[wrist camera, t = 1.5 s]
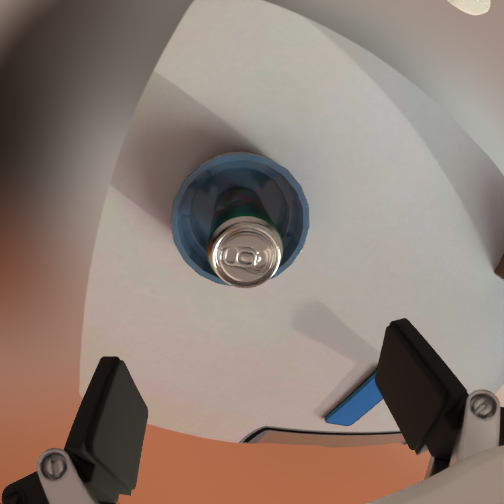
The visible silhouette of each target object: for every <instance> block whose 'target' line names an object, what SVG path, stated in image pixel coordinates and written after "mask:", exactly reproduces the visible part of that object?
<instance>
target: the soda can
mask: <svg viewBox="0 0 504 504" xmlns="http://www.w3.org/2000/svg"><path fill="white" fill-rule="evenodd" d="M282 256H283V243H282V239H281V236H280V234H279V232H278V230H277V228H276V227H275V225H274V223H273V221H272V219H271V217H270V216H269V214H268V212H267V210H266V208H265V207H264V205H263V203H262V201H261V199H260V198H259V197H258V196H257V195H256V194H255V193H254V192H252V191H250V190H247V189H243V188H236V189H231V190H229V191H227V192H225V193H224V194H222V195H221V196H220V197H219V199H218V200H217V202H216V204H215V207H214V212H213V217H212V222H211V228H210V233H209V239H208V245H207V257H208V261H209V263H210V266H211V268H212V269H213V271H214V272H215V273H216V274H217V275H218V276H219V277H220V278H221V279H222V280H223V281H225V282H226V283H228V284H230V285H232V286H234V287H239V288H252V287H256V286H259V285H261V284H263V283H265V282H266V281H268V280H269V279H270V278H271V277H272V276H273V275H274V273H275V272H276V270H277V268H278V266H279V264H280V262H281V260H282Z"/></svg>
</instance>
